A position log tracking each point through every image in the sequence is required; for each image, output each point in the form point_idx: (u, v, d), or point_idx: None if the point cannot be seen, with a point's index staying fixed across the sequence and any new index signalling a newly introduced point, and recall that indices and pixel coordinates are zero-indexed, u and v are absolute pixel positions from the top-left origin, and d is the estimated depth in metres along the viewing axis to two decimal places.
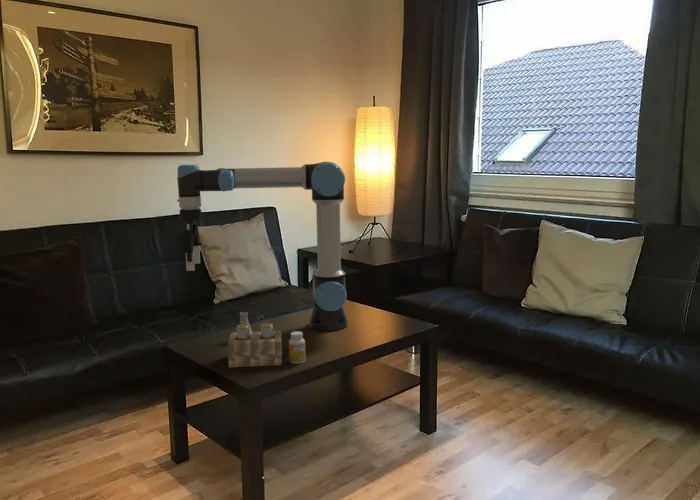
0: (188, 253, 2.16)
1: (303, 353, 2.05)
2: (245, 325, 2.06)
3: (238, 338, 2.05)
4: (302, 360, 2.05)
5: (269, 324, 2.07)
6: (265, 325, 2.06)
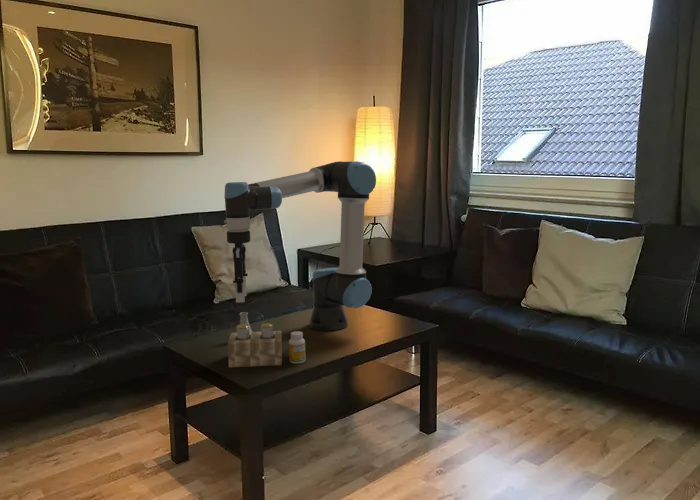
0: (238, 283, 1.98)
1: (303, 353, 2.05)
2: (245, 325, 2.06)
3: (238, 338, 2.05)
4: (302, 360, 2.05)
5: (269, 324, 2.07)
6: (265, 325, 2.06)
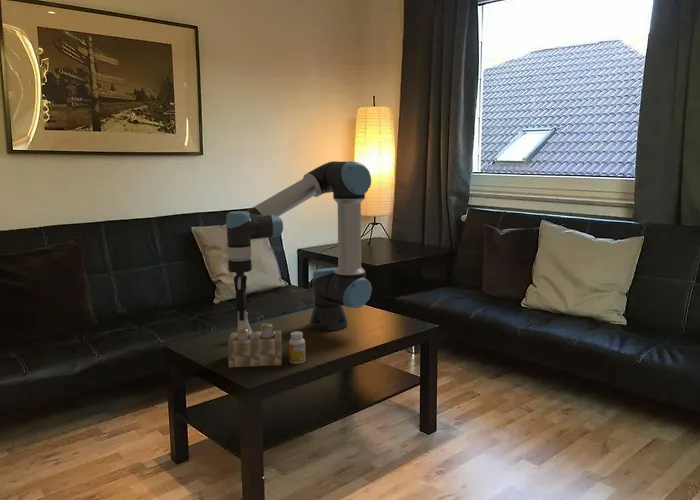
0: (240, 312, 2.03)
1: (303, 353, 2.05)
2: None
3: None
4: (302, 360, 2.05)
5: (269, 324, 2.07)
6: (265, 325, 2.06)
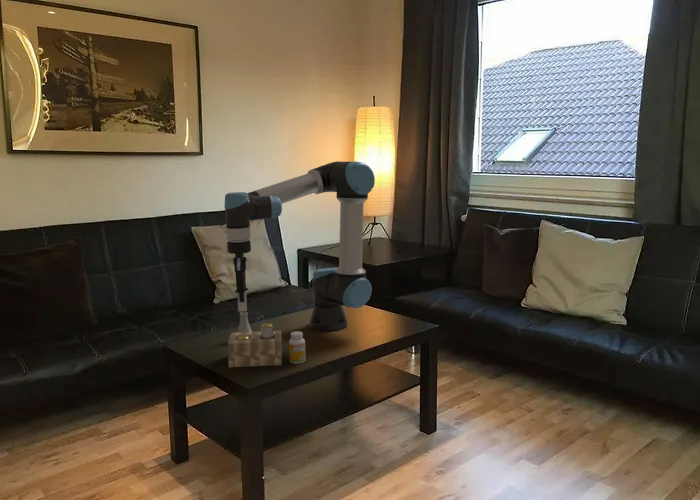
0: (240, 293, 2.02)
1: (303, 353, 2.05)
2: (245, 336, 2.07)
3: None
4: (302, 360, 2.05)
5: (269, 324, 2.07)
6: (265, 325, 2.06)
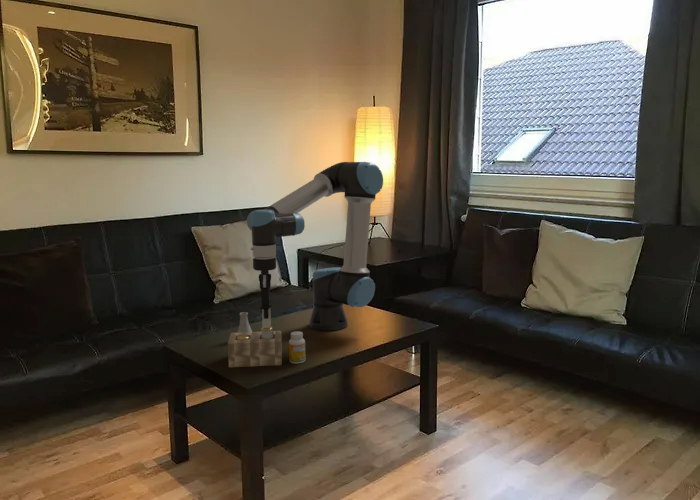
0: (265, 310, 2.04)
1: (303, 353, 2.05)
2: (245, 336, 2.07)
3: None
4: (302, 360, 2.05)
5: None
6: (265, 328, 2.06)
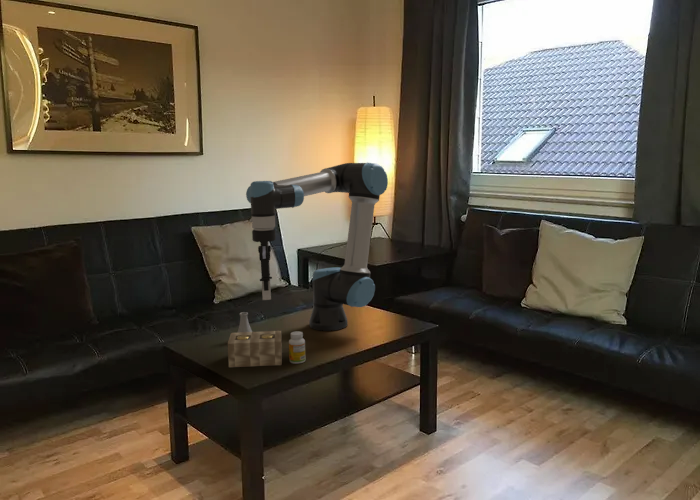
0: (265, 281, 2.03)
1: (303, 353, 2.05)
2: (245, 336, 2.07)
3: None
4: (302, 360, 2.05)
5: (269, 335, 2.08)
6: (265, 336, 2.07)
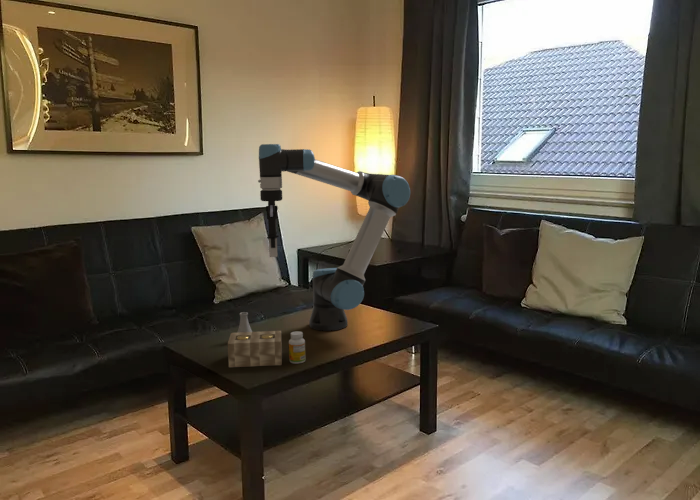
0: (272, 239, 2.15)
1: (303, 353, 2.05)
2: (245, 336, 2.07)
3: None
4: (302, 360, 2.05)
5: (269, 335, 2.08)
6: (265, 336, 2.07)
